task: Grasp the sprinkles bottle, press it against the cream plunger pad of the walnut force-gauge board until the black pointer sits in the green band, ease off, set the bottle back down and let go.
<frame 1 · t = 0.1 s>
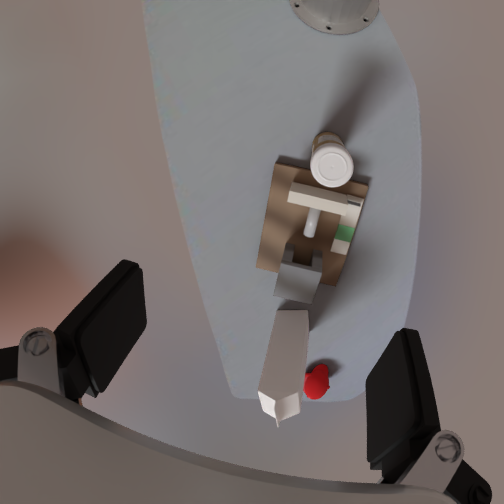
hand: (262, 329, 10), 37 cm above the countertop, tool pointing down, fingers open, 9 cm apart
gauge frame: (309, 226, 47), on the countertop
cap: (317, 372, 64), on the countertop
sprinkles bottle: (328, 146, 41), on the countertop
spring plunger: (322, 216, 42), point 4 cm above the countertop, slide at 0.0 cm
milk: (293, 320, 58), on the countertop
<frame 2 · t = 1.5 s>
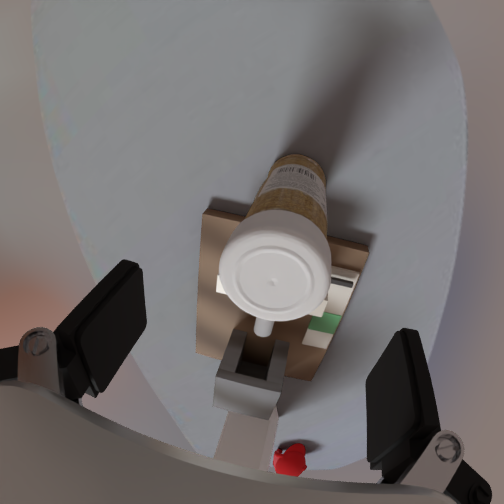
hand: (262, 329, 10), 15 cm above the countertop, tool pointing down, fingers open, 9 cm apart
gauge frame: (268, 306, 30), on the countertop
cap: (292, 448, 47), on the countertop
sprinkles bottle: (297, 180, 23), on the countertop
spring plunger: (283, 306, 25), point 4 cm above the countertop, slide at 0.0 cm
milk: (257, 405, 40), on the countertop
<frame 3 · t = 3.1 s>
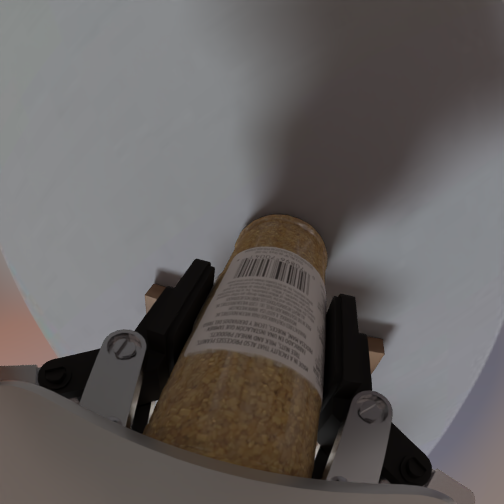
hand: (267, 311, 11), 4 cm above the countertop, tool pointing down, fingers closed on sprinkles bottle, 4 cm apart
gauge frame: (246, 397, 21), on the countertop
sprinkles bottle: (282, 252, 15), on the countertop, touching gripper
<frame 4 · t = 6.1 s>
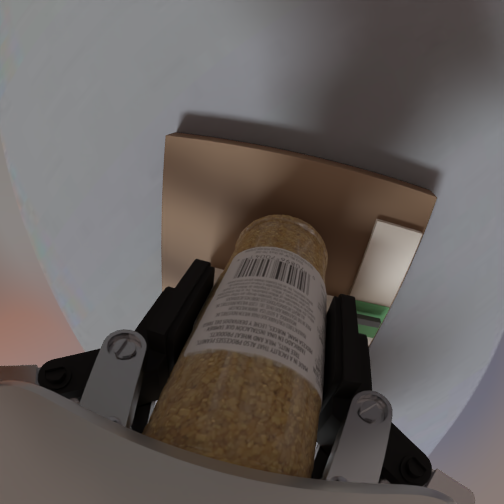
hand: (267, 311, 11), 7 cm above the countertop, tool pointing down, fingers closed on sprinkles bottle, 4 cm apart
gauge frame: (272, 296, 19), on the countertop
sprinkles bottle: (283, 252, 15), point 2 cm above the countertop, touching gripper
spring plunger: (279, 355, 16), point 4 cm above the countertop, slide at 4.8 cm
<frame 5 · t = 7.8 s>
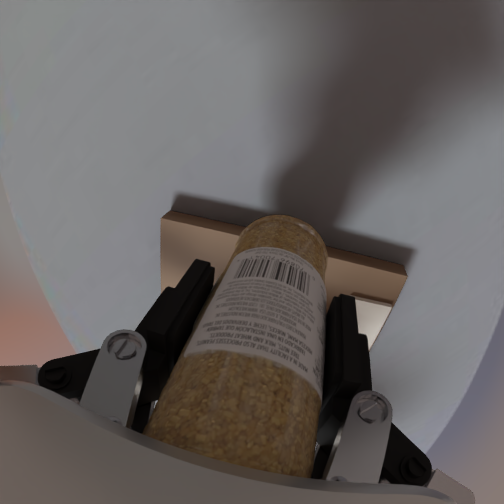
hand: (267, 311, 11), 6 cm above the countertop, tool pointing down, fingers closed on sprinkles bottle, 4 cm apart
gauge frame: (260, 347, 21), on the countertop
sprinkles bottle: (283, 252, 15), point 2 cm above the countertop, touching gripper
when the fingers open (5 cm above the countertop, at t = 9.1 s): sprinkles bottle stays where it is, on the countertop.
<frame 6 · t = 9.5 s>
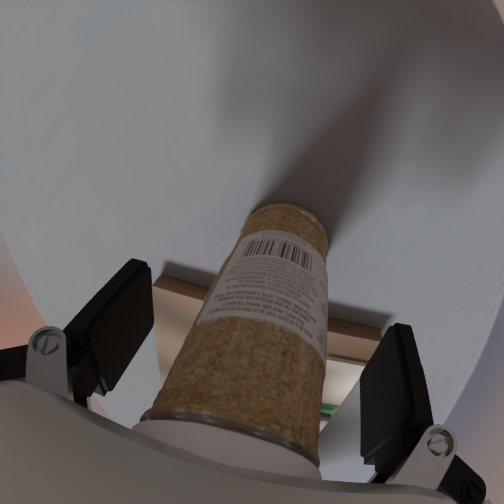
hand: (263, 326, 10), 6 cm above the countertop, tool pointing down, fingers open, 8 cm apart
gauge frame: (248, 387, 22), on the countertop
sprinkles bottle: (285, 240, 16), on the countertop
spring plunger: (251, 437, 20), point 4 cm above the countertop, slide at 4.8 cm
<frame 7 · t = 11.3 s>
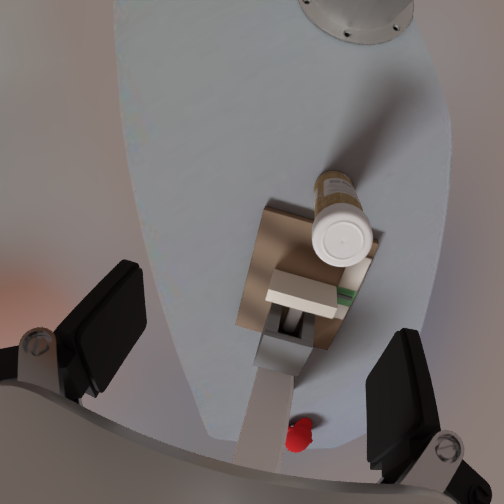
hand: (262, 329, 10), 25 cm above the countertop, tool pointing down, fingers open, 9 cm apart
gauge frame: (301, 284, 39), on the countertop
cap: (299, 424, 55), on the countertop
sprinkles bottle: (334, 189, 33), on the countertop
spring plunger: (305, 311, 36), point 4 cm above the countertop, slide at 4.8 cm
milk: (276, 377, 49), on the countertop
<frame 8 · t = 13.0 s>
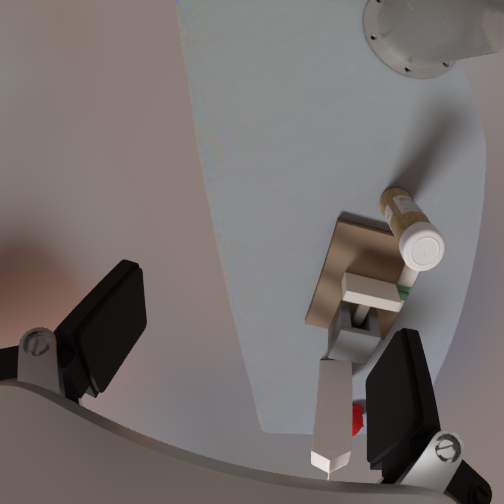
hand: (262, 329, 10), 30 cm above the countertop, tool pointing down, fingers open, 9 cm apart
gauge frame: (364, 284, 43), on the countertop
cap: (350, 411, 59), on the countertop
sprinkles bottle: (395, 202, 36), on the countertop
spring plunger: (372, 307, 40), point 4 cm above the countertop, slide at 4.8 cm
milk: (335, 368, 53), on the countertop
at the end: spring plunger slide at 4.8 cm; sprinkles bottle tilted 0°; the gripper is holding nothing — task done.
